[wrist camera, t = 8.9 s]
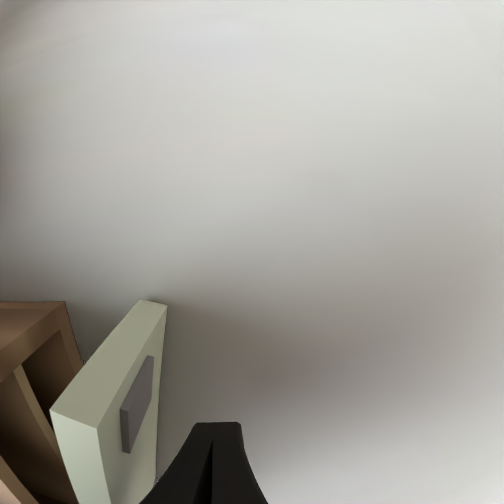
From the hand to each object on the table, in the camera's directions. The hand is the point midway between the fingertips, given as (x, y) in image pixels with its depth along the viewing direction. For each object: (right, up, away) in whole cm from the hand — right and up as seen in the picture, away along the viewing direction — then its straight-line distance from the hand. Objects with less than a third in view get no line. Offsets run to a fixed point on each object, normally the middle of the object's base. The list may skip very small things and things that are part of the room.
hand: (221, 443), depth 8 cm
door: (-3, -1, +3) cm, 5 cm away
